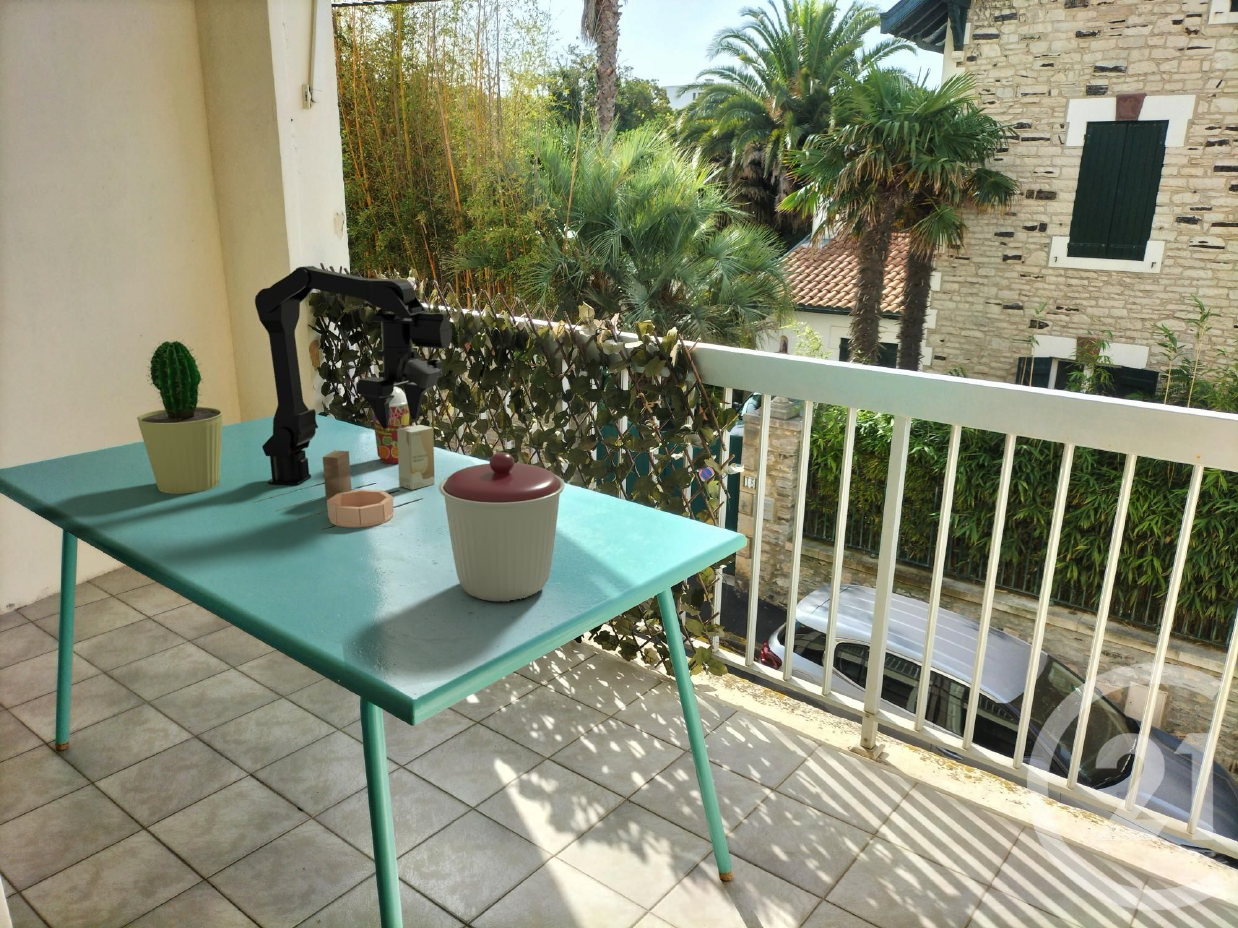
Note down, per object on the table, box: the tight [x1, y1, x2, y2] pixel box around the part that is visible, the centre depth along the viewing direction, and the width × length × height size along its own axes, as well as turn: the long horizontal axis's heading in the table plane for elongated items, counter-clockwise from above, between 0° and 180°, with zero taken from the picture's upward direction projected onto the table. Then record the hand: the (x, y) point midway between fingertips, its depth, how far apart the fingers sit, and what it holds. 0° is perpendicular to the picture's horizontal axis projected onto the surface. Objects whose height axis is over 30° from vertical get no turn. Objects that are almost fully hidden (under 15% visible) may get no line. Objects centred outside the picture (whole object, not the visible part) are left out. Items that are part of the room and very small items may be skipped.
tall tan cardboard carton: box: [322, 449, 353, 503], centre depth 168 cm, size 3×5×9 cm, turn 172°
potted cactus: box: [136, 340, 224, 495], centre depth 171 cm, size 15×15×30 cm
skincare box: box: [397, 424, 435, 491], centre depth 177 cm, size 6×4×12 cm
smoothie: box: [371, 386, 410, 465], centre depth 193 cm, size 8×8×20 cm
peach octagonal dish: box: [326, 489, 395, 529], centre depth 158 cm, size 11×11×4 cm
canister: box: [438, 451, 565, 602], centre depth 127 cm, size 18×18×21 cm
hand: (399, 423), depth 171 cm, fingers open, 9 cm apart
